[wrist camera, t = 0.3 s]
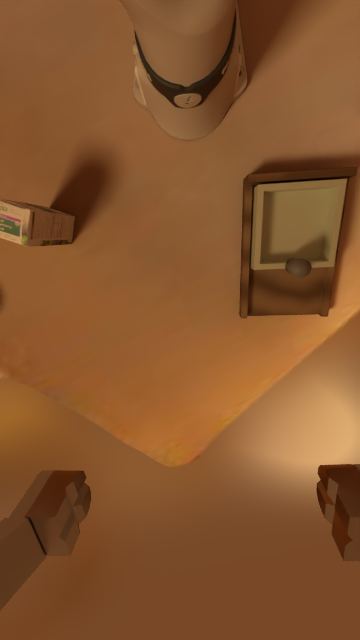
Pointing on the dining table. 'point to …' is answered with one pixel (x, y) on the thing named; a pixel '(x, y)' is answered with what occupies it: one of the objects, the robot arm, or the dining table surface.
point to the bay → (277, 284)
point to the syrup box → (34, 224)
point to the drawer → (296, 225)
